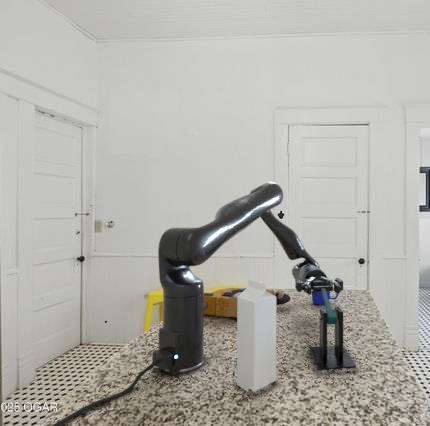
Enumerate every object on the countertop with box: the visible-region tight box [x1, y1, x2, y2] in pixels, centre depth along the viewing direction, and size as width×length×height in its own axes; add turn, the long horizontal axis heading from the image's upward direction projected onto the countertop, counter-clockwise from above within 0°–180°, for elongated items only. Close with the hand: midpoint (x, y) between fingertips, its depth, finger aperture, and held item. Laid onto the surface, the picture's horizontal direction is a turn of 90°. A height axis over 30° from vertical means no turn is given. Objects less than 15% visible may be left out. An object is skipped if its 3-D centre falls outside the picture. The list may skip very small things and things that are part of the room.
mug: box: [311, 277, 339, 306], centre depth 128 cm, size 8×12×10 cm
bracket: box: [309, 306, 357, 371], centre depth 77 cm, size 12×9×13 cm
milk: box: [236, 279, 277, 393], centre depth 66 cm, size 6×6×22 cm
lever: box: [313, 286, 337, 326], centre depth 82 cm, size 13×6×2 cm, turn 9°
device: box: [204, 287, 291, 319], centre depth 117 cm, size 23×8×30 cm
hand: (324, 290), depth 85 cm, fingers open, 7 cm apart
